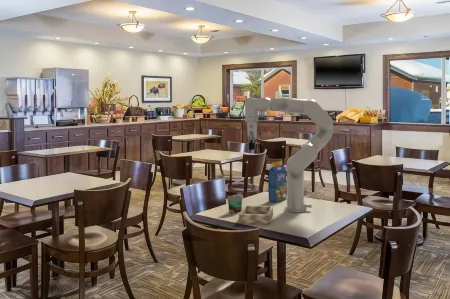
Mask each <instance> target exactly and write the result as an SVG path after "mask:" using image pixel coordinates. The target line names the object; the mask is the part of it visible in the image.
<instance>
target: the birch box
mask: <svg viewBox="0 0 450 299" xmlns="http://www.w3.org/2000/svg"><path fill="white" fill-rule="evenodd" d="M273 216H274V206H273V205H244V206H242V211H241V212H239V213H238V224H239V225H264V226H270V225H271V223H272V220H273Z"/></svg>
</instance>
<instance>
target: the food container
mask: <svg viewBox="0 0 450 299" xmlns="http://www.w3.org/2000/svg"><path fill="white" fill-rule="evenodd" d="M243 199H244V195H243V193H242V192H237V194H233V195H227V203H228V213H229V212H231V213H230V214H238V213H237V212H239V213H240V212H241V211H242V209H243Z"/></svg>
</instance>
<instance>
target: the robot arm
mask: <svg viewBox="0 0 450 299" xmlns="http://www.w3.org/2000/svg"><path fill="white" fill-rule="evenodd" d="M259 111H263V112H265V111H271V112H283V113H286V114H296V115H304V116H306V115H307V117H308V118H309V119H310V120H311V121H312V122H313V123H314V124H315V125H316V127H317V131H316V132H315V134H313V136H311V138H309V139H308V140H307V141H306V142H305V143H304V144H303V145H302V146H301V147H300V148H299V150H298V151H297V152H296V153H295V154H294V155H292V156H290V157H289V158H288V159H287V161H286V164H285V166H286V167H285V169H286V183H287V199H286V204H287V205H286V206H285V207H284V211H285V212H288V213H304V212H306V211H307V208H312V207H313V206H312V205H313V204H311V203H305V200H304V199H305V198H304V197H305V193H304V192H305V191H304V190H305V189H304V186H305V185H304V183H305V182H304V180H305V179H304V178H305V177H304V171H305V170H306V168H308V166H310V165H311V164H312V163H313V162H314V161H315V159H316V158H317V157H318V153H320V151H321V150H322V149H324V147H325V146H326V145H327V144H328V143H329V141H331V138H332V137H333V133H334V120H333V118H332V116H330V115H329V113H327V112H326V111H325V110H324V108H323V107H322V106H321V105H320V104H319V103H318V102H317V101H316V100H314V99H305V98H291V97H290V98H287V97H286V98H279V97H276V98H275V97H258V98H257V97H248V98H245V99H244V121H245V123H247V124H246V125H247V128H246V129H247V130H246V131H247V139H248V151H254V150H255V148H256V141H255V140H256V139H257V138H258V136H257V135H258V133H257V131H258V130H257V128H258V126H257V123H259Z"/></svg>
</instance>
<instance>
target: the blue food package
mask: <svg viewBox="0 0 450 299" xmlns="http://www.w3.org/2000/svg"><path fill="white" fill-rule="evenodd" d="M267 178H268V181H267V182H268V187H267V189H268V202H269V203H270V202H272V203H279V202H282V201H285V200H287V168H286V167H285V166H284V165H283V160H279V161H275V162H274V161H273V162H271V167H270V169H269V170H268V176H267Z"/></svg>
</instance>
